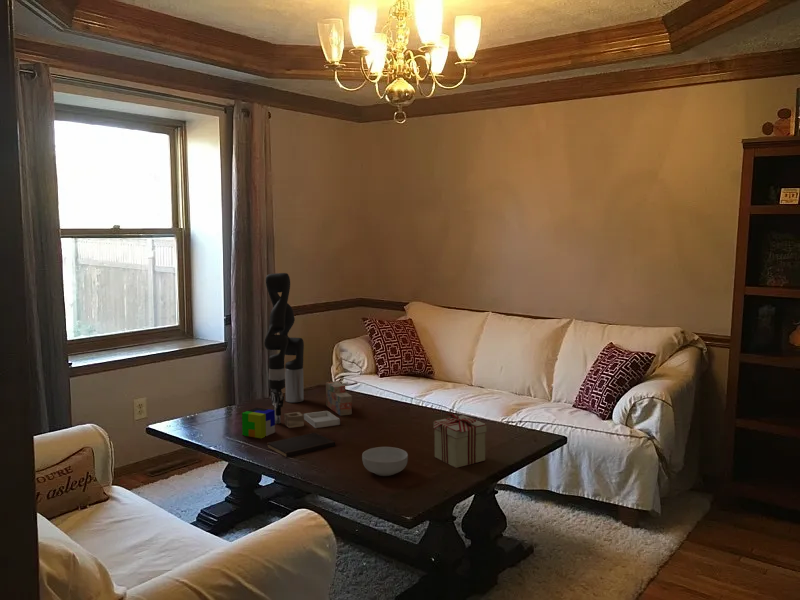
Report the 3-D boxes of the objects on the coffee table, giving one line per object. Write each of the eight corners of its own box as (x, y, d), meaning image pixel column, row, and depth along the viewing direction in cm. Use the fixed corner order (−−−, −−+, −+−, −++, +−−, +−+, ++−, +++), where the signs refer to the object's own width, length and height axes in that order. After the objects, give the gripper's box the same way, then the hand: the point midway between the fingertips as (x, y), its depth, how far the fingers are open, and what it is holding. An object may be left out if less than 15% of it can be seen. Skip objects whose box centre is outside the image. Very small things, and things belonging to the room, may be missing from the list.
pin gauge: (273, 422, 310) (273, 397, 309) (279, 422, 311) (279, 396, 310) (275, 424, 308) (275, 398, 307) (281, 423, 309) (280, 398, 308)
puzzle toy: (275, 432, 296) (274, 410, 295) (261, 438, 287) (260, 415, 286) (256, 429, 300) (256, 407, 299) (242, 435, 291) (241, 413, 290)
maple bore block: (284, 424, 309) (284, 413, 308) (299, 422, 312) (298, 411, 311) (289, 428, 302) (288, 417, 302) (303, 426, 306) (303, 415, 305)
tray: (303, 419, 316) (303, 413, 316) (327, 416, 322) (327, 410, 322) (315, 428, 302) (315, 422, 302) (340, 424, 308) (340, 419, 307)
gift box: (425, 459, 262) (426, 416, 260) (460, 450, 273) (461, 408, 271) (454, 471, 248) (455, 426, 246) (490, 461, 259) (491, 418, 258)
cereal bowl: (352, 474, 245) (352, 455, 244) (379, 461, 259) (379, 443, 258) (391, 484, 236) (391, 464, 235) (416, 470, 250) (416, 452, 249)
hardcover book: (266, 448, 275) (266, 443, 275) (314, 437, 290) (314, 432, 290) (286, 458, 263) (286, 453, 263) (335, 447, 278) (335, 441, 277)
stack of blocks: (352, 414, 325) (352, 389, 324) (340, 416, 322) (339, 391, 321) (337, 404, 344) (337, 380, 343) (325, 405, 342) (325, 381, 340)
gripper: (264, 375, 312) (265, 411, 314) (273, 381, 300) (273, 419, 301) (280, 374, 315) (280, 410, 317) (289, 380, 303) (289, 417, 305)
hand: (277, 414), depth 309 cm, fingers closed on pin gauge, 2 cm apart
